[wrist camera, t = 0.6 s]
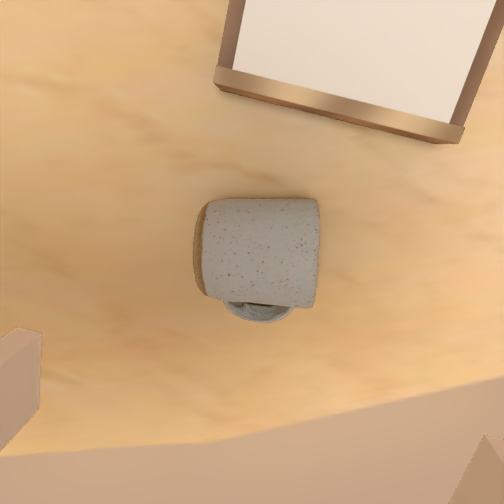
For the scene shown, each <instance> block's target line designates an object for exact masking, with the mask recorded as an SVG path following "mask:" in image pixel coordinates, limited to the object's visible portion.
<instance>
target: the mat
mask: <svg viewBox="0 0 504 504" xmlns="http://www.w3.org/2000/svg"><path fill="white" fill-rule="evenodd" d="M495 3H496V0H246V3H245V8H244V13H243V18H242V23H241V28H240V33H239V38H238V43H237V48H236V53H235V58H234V63H233V68H232V69H233V70H237V71H241V72H245V73H249V74H253V75H257V76H261V77H265V78H269V79H273V80H277V81H281V82H285V83H289V84H293V85H297V86H301V87H305V88H309V89H313V90H317V91H321V92H325V93H329V94H333V95H337V96H341V97H345V98H349V99H353V100H357V101H361V102H365V103H369V104H373V105H377V106H381V107H385V108H389V109H393V110H397V111H401V112H405V113H409V114H413V115H417V116H421V117H425V118H429V119H433V120H437V121H441V122H445V123H449V122H450V120H451V117H452V114H453V112H454V109H455V107H456V104H457V101H458V99H459V96H460V94H461V91H462V88H463V86H464V83H465V81H466V78H467V75H468V73H469V70H470V68H471V65H472V62H473V60H474V57H475V55H476V52H477V49H478V47H479V44H480V42H481V39H482V36H483V34H484V31H485V29H486V26H487V23H488V21H489V18H490V16H491V13H492V10H493V8H494V5H495Z"/></svg>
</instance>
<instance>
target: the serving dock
mask: <svg viewBox="0 0 504 504" xmlns="http://www.w3.org/2000/svg"><path fill="white" fill-rule="evenodd" d="M245 3H246V0H229V6H228V11H227V17H226V22H225V27H224V33H223V38H222V44H221V49H220V54H219V60H218V65H216V71H215V76H214V81H213V83H214V84H215V85H216V86H217V87H218V88H219V89H220V90H222V91H226V92H230V93H234V94H238V95H242V96H246V97H250V98H254V99H258V100H262V101H266V102H270V103H274V104H278V105H282V106H286V107H290V108H294V109H298V110H302V111H306V112H310V113H314V114H318V115H322V116H326V117H330V118H334V119H338V120H342V121H346V122H350V123H354V124H358V125H362V126H366V127H370V128H374V129H378V130H382V131H386V132H390V133H394V134H398V135H402V136H406V137H410V138H414V139H418V140H422V141H426V142H430V143H434V144H459V142H460V139H461V137H462V134H463V132H464V129H465V127H463V126H464V123H465V121H466V118H467V116H468V113H469V111H470V108H471V106H472V103H473V101H474V98H475V96H476V93H477V91H478V88H479V86H480V83H481V80H482V78H483V75H484V73H485V70H486V68H487V65H488V63H489V60H490V58H491V55H492V53H493V50H494V48H495V45H496V43H497V40H498V38H499V35H500V33H501V30H502V28H503V25H504V0H496V3H495V5H494V8H493V10H492V13H491V16H490V18H489V21H488V23H487V26H486V29H485V31H484V34H483V36H482V39H481V42H480V44H479V47H478V49H477V52H476V55H475V57H474V60H473V62H472V65H471V68H470V70H469V73H468V75H467V78H466V81H465V83H464V86H463V88H462V91H461V94H460V96H459V99H458V101H457V104H456V107H455V109H454V112H453V114H452V117H451V120H450V122H449V123H445V122H441V121H437V120H433V119H429V118H425V117H421V116H417V115H413V114H409V113H405V112H401V111H397V110H393V109H389V108H385V107H381V106H377V105H373V104H369V103H365V102H361V101H357V100H353V99H349V98H345V97H341V96H337V95H333V94H329V93H325V92H321V91H317V90H313V89H309V88H305V87H301V86H297V85H293V84H289V83H285V82H281V81H277V80H273V79H269V78H265V77H261V76H257V75H253V74H249V73H245V72H241V71H237V70H233V69H232V68H233V63H234V58H235V53H236V48H237V43H238V38H239V33H240V28H241V23H242V18H243V13H244V8H245Z"/></svg>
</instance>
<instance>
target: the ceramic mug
mask: <svg viewBox="0 0 504 504" xmlns="http://www.w3.org/2000/svg"><path fill="white" fill-rule="evenodd" d="M319 243H320V225H319V207H318V202H317V200H316V199H310V198H302V199H279V198H264V199H246V198H227V199H221V200H214V201H211V202H209V203H207V204H206V205H205V206H204V207H203V208H202V209H201V211H200V213H199V215H198V219H197V222H196V226H195V233H194V242H193V265H194V273H195V279H196V283H197V285H198V287H199V289H200V290H201V291H202V292H203V293H204V295H206V296H209V297H212V298H215V299H219V300H223V302H224V304H225V305H226V307H227V308H228V310H229V311H230V312H232V313H233V314H235V315H236V316H238V317H240V318H243V319H246V320H249V321H254V322H273V321H278V320H280V319H282V318H284V317H286V316H287V315H288V314H289V313H290V312H291V311H292V310H293V308H294V307H296V308H306V309H307V308H312V307H313V305H314V301H315V295H316V288H317V276H318V259H319ZM243 302H250V303H260V304H268V305H276V306H271V307H270V306H269V307H266V306H258V305H251V304H248V303H243Z"/></svg>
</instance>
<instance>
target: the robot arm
mask: <svg viewBox="0 0 504 504" xmlns="http://www.w3.org/2000/svg"><path fill="white" fill-rule="evenodd" d="M41 347H42V333H40V332H36V331H31V330H27V329H23V328H18V327H16V328H14V329H13V330H11V331H10V332H8V333H7V334H6V335H4V336H3V337H1V338H0V451H1V450H2V449H3V448H4V447H5V446H6V445H7V444H8V443H9V441H10V440H11V439H12V438H13V437H14V436H15V435H16V434H17V433H18V432H19V430H20V429H21V428H22V427H23V426H24V425H25V424H26V423H27V422H28V420H29V419H30V418H31V417H32V416H33V415H34V414H35V413H36V412H37V411H38V409H39V397H40V372H41ZM448 504H504V439H500V438H496V437H492V436H487V435H484V436H483V438H482V440H481V442H480V444H479V446H478V448H477V450H476V452H475V453H474V456H473V457H472V459H471V461H470V463H469V465H468V467H467V469H466V471H465V473H464V474H463V476H462V478H461V480H460V482H459V484H458V486H457V488H456V489H455V491H454V493H453V495H452V497H451V499H450V501H449V503H448Z"/></svg>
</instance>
